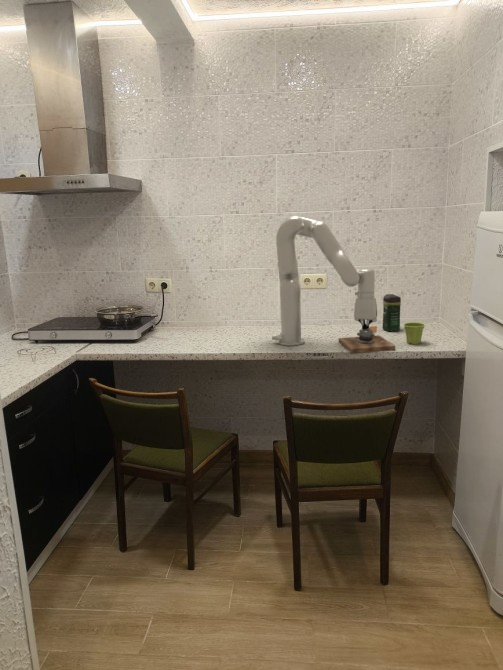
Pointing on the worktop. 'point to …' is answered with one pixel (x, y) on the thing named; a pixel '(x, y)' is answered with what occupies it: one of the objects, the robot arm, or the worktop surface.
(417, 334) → the plant pot
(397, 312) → the coffee jar
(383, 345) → the wooden cutting board
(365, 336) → the portafilter
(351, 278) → the robot arm
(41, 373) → the worktop surface
